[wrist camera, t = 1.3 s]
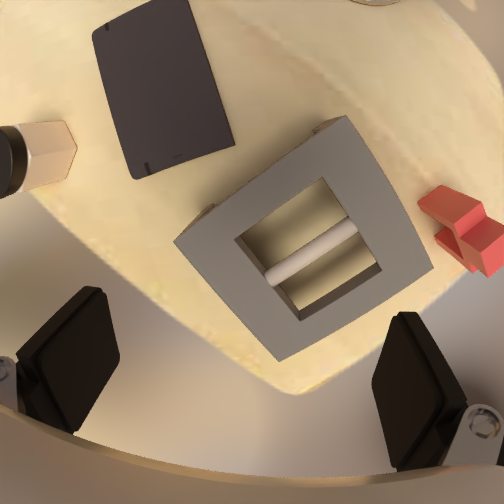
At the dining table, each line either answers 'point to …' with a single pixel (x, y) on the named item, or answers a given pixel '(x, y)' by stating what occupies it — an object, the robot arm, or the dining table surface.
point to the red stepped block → (466, 230)
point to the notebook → (160, 87)
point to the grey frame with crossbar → (358, 220)
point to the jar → (34, 155)
